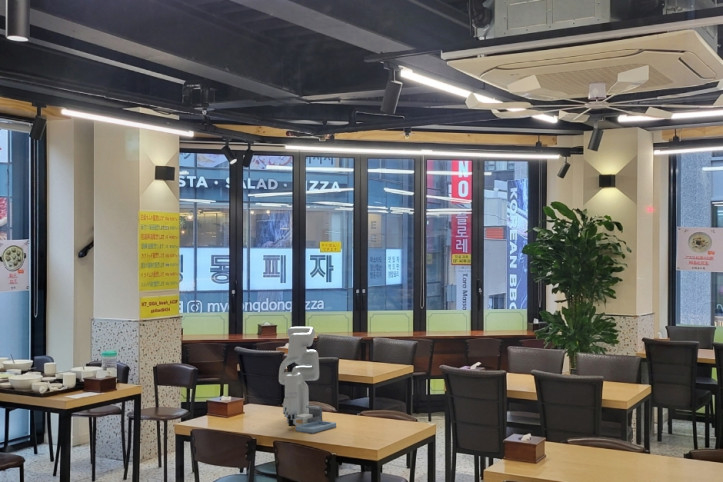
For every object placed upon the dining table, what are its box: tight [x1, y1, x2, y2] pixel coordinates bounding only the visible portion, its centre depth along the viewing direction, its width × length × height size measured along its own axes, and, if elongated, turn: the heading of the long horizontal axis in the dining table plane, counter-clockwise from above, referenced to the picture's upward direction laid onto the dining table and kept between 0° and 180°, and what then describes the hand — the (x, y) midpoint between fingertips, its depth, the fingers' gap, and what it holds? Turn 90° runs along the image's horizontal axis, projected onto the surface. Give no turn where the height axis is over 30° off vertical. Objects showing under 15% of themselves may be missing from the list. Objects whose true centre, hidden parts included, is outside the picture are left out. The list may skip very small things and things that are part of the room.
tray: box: [295, 420, 337, 434], centre depth 477 cm, size 21×13×2 cm, turn 143°
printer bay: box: [306, 404, 323, 423], centre depth 493 cm, size 12×10×10 cm
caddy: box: [286, 413, 313, 427], centre depth 486 cm, size 16×6×6 cm, turn 143°
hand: (291, 425), depth 479 cm, fingers closed
